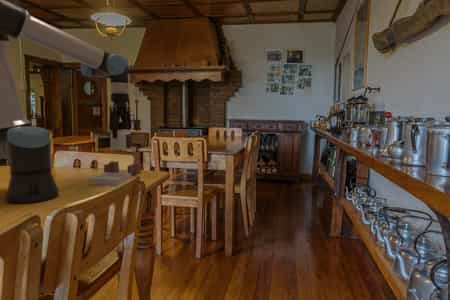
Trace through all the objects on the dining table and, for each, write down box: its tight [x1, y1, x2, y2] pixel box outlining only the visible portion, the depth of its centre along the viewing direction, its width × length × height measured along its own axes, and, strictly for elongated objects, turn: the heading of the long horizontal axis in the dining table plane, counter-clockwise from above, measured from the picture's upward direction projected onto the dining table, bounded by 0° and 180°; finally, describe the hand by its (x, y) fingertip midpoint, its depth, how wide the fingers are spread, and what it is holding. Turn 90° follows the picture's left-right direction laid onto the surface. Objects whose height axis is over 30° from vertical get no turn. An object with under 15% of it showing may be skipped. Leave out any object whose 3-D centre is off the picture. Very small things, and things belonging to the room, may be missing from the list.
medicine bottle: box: [109, 121, 132, 151], centre depth 144 cm, size 7×7×12 cm
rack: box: [103, 160, 142, 178], centre depth 146 cm, size 10×12×5 cm
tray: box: [88, 172, 132, 186], centre depth 133 cm, size 12×12×2 cm
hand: (121, 145), depth 145 cm, fingers closed on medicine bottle, 8 cm apart
